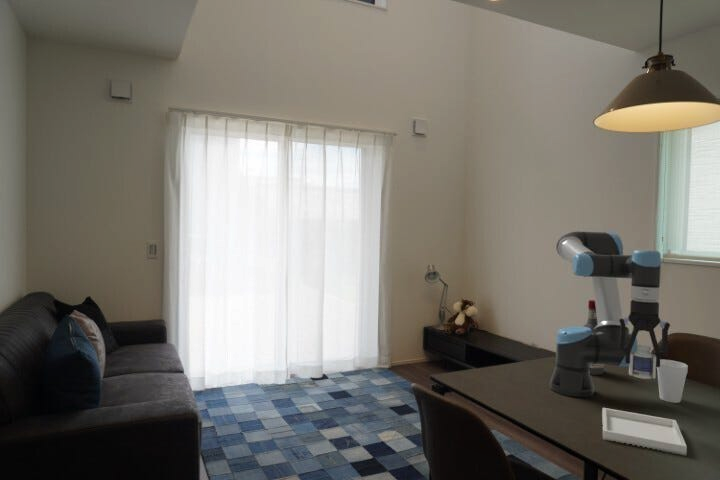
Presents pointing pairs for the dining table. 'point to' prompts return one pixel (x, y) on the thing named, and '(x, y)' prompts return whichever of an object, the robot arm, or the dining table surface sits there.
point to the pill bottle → (642, 361)
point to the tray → (643, 431)
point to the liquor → (591, 324)
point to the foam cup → (671, 380)
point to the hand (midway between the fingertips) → (641, 375)
